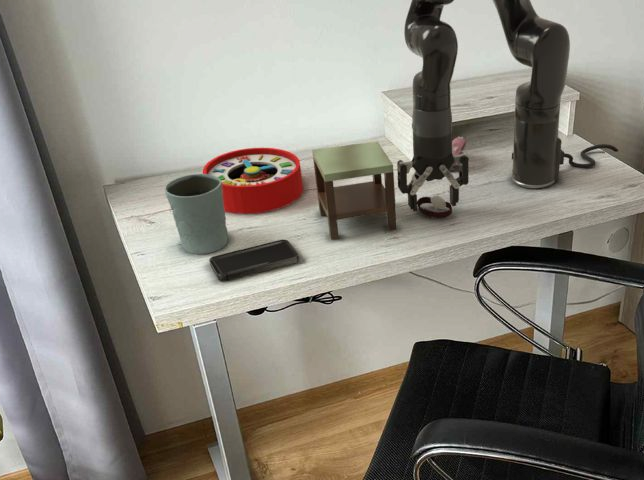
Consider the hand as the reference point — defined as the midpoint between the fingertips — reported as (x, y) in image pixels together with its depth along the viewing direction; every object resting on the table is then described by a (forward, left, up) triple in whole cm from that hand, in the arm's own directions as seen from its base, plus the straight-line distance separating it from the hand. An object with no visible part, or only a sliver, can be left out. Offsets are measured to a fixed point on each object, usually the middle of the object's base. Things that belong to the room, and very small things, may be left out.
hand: (433, 207), depth 164 cm
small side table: (+15, -2, -1) cm, 16 cm away
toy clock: (+33, -22, -2) cm, 40 cm away
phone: (+37, +8, -1) cm, 38 cm away
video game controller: (-11, -22, -2) cm, 25 cm away
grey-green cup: (+45, -3, -2) cm, 45 cm away
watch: (0, 0, -2) cm, 2 cm away
